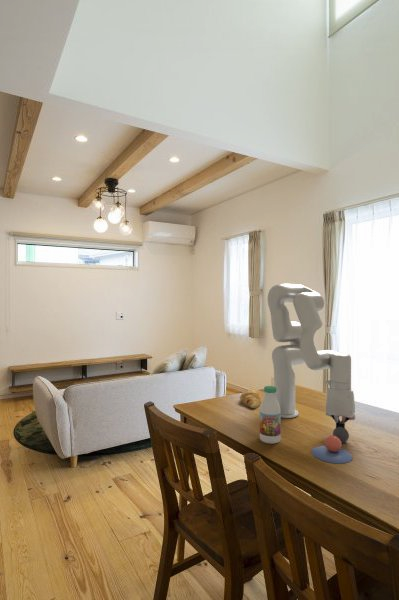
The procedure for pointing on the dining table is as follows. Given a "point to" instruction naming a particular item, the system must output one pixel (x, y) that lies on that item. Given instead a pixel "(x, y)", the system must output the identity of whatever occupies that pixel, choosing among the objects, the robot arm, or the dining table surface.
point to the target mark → (331, 455)
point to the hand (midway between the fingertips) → (340, 432)
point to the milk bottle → (270, 417)
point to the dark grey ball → (341, 434)
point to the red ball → (333, 443)
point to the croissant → (250, 398)
